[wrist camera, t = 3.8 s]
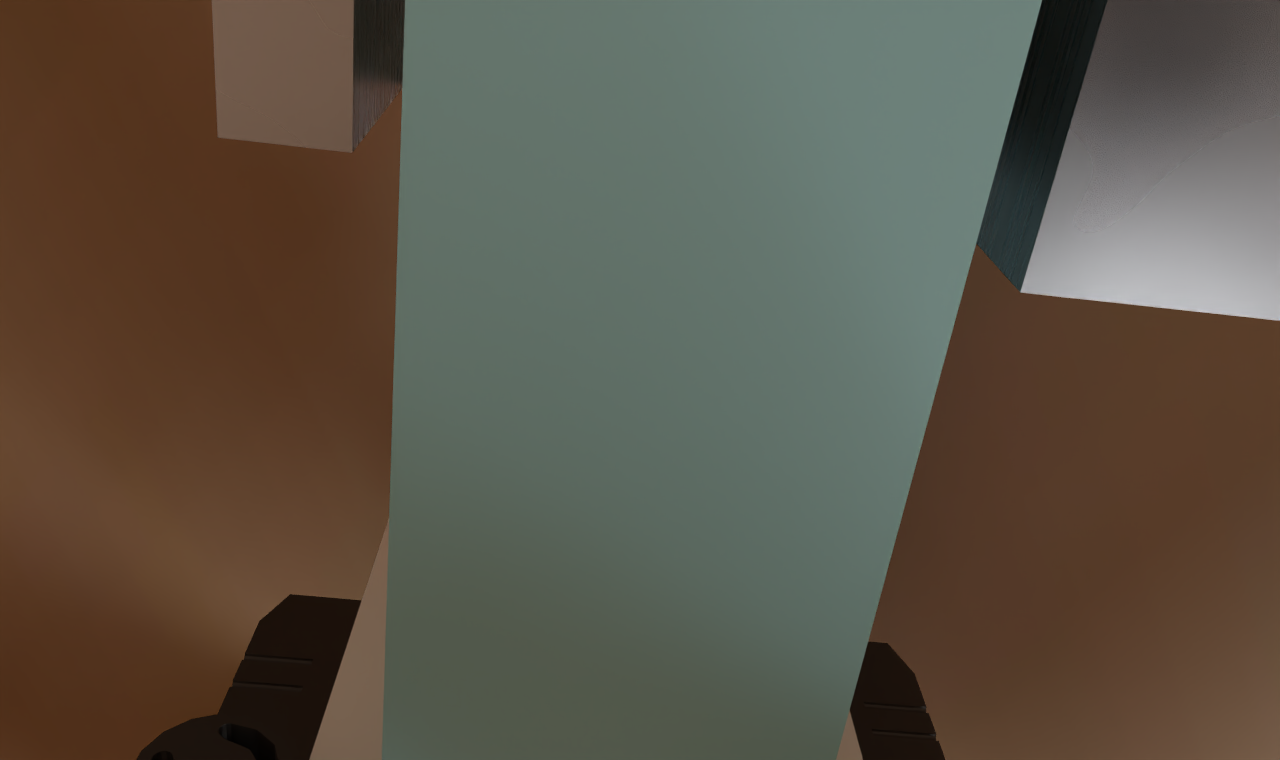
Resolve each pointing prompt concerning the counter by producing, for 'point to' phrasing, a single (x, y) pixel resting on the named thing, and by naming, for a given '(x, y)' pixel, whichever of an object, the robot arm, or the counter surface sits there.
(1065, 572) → the counter surface
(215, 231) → the counter surface
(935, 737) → the robot arm
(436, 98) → the block
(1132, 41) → the rack
